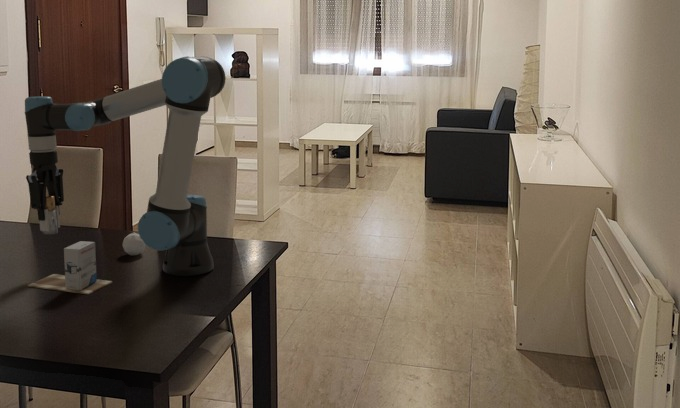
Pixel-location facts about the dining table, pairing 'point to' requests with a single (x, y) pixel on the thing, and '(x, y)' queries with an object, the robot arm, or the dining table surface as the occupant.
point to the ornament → (133, 244)
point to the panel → (59, 284)
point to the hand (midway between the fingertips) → (50, 228)
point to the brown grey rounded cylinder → (51, 214)
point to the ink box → (80, 265)
